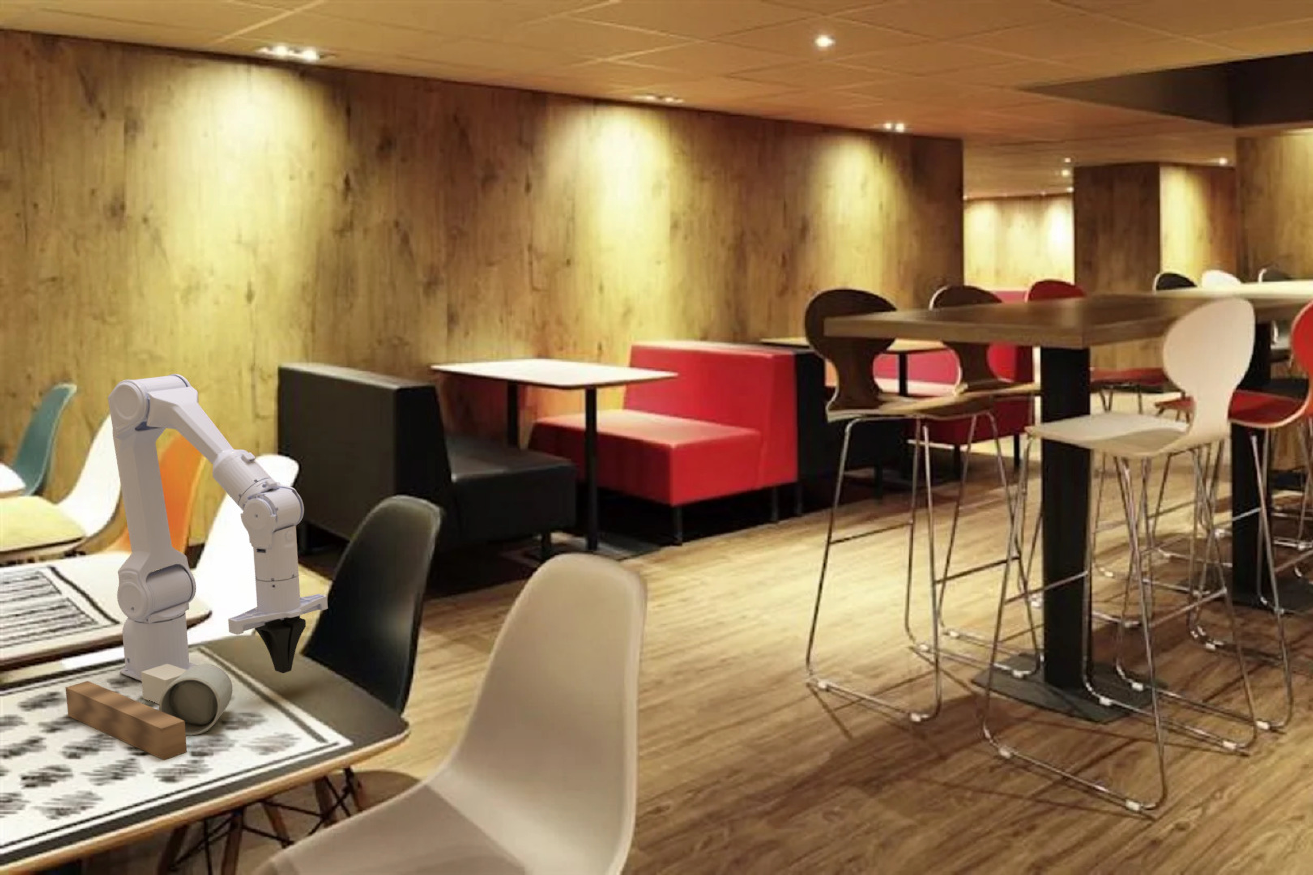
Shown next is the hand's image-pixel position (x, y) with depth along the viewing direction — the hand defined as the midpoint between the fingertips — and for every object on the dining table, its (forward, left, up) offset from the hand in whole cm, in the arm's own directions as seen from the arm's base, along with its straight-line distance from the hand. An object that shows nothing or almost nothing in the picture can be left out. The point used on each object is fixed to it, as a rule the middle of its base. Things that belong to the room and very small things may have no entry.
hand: (283, 670), depth 163 cm
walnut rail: (-5, -21, -3) cm, 21 cm away
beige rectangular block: (-12, -11, -4) cm, 16 cm away
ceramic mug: (-1, -14, -4) cm, 15 cm away
